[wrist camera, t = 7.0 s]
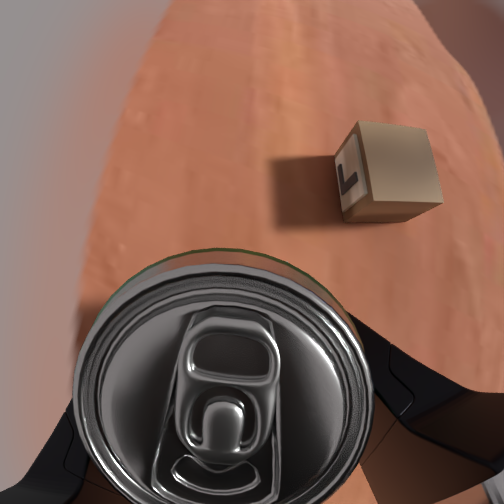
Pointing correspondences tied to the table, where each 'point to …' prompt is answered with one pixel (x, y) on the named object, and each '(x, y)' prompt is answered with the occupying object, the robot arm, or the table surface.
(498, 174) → the table surface
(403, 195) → the letter cube
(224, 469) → the soda can
